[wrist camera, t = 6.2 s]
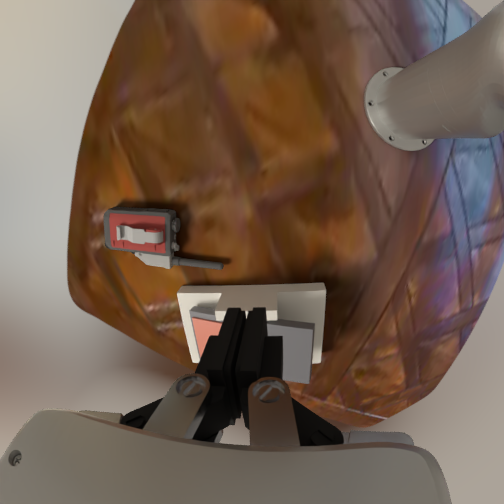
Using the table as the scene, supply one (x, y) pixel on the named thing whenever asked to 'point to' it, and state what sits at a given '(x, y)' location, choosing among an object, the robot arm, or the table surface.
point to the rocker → (294, 335)
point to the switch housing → (248, 296)
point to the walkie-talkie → (148, 236)
